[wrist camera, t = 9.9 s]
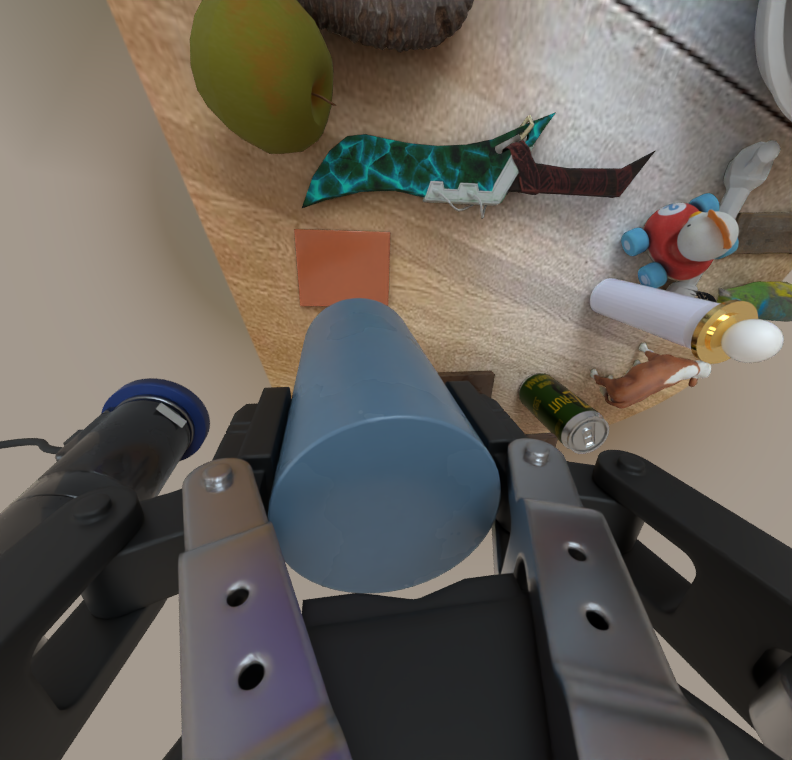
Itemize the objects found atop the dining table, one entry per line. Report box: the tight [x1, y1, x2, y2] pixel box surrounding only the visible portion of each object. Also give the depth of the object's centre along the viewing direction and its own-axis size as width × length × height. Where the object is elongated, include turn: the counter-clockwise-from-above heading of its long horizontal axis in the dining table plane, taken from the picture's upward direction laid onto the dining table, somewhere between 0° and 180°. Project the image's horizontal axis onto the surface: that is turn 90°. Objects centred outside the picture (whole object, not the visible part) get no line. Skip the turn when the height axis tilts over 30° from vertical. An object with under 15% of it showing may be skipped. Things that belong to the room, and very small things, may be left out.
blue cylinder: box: [268, 298, 501, 593], centre depth 12 cm, size 5×5×10 cm
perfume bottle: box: [590, 278, 784, 364], centre depth 37 cm, size 6×6×20 cm
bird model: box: [717, 281, 792, 321], centre depth 47 cm, size 5×19×5 cm
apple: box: [190, 0, 335, 154], centre depth 28 cm, size 10×10×11 cm
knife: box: [302, 112, 655, 219], centre depth 36 cm, size 37×3×10 cm
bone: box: [666, 140, 781, 297], centre depth 42 cm, size 18×5×4 cm
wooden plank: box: [732, 212, 792, 254], centre depth 46 cm, size 17×1×5 cm
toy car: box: [621, 193, 739, 288], centre depth 37 cm, size 9×9×10 cm
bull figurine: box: [590, 342, 711, 408], centre depth 47 cm, size 4×13×8 cm, turn 113°
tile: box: [294, 229, 390, 306], centre depth 39 cm, size 10×8×1 cm
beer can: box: [519, 373, 609, 454], centre depth 45 cm, size 5×5×12 cm
